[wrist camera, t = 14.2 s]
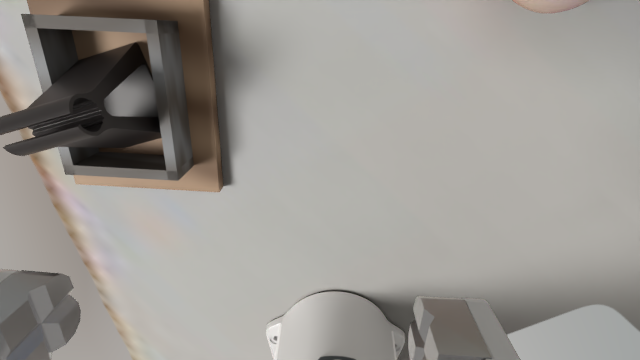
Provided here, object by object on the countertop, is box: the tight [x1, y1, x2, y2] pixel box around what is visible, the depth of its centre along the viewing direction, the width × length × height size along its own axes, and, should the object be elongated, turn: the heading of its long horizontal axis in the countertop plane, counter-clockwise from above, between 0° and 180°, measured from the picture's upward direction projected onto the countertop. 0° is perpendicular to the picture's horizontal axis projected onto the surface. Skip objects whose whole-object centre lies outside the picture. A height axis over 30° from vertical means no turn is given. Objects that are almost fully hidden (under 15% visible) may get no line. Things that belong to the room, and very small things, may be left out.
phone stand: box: [0, 42, 162, 156], centre depth 29 cm, size 9×6×12 cm, turn 15°
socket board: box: [21, 0, 223, 192], centre depth 33 cm, size 20×16×6 cm
